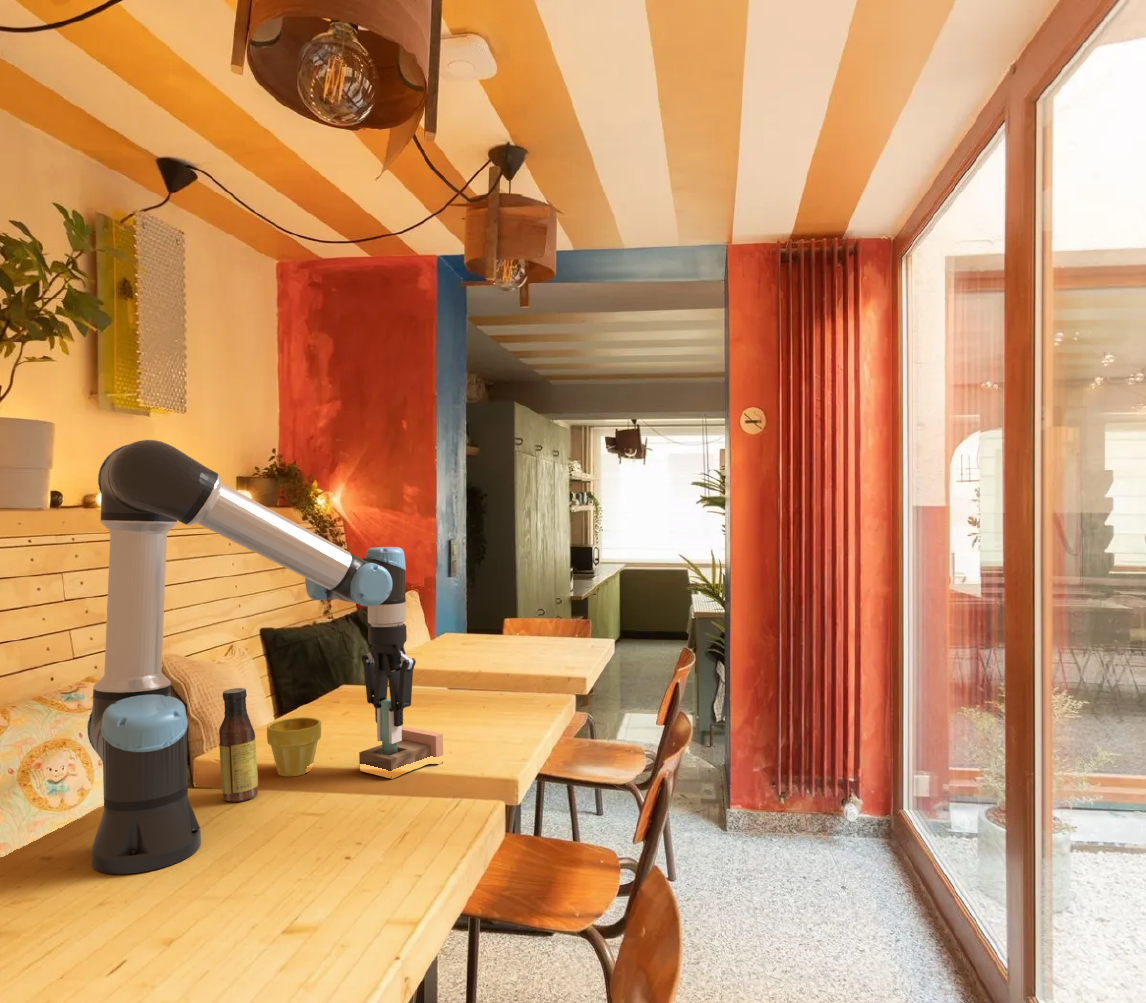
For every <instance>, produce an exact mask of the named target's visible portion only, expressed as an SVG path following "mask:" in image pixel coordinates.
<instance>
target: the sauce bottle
mask: <svg viewBox="0 0 1146 1003" xmlns="http://www.w3.org/2000/svg"><path fill="white" fill-rule="evenodd" d="M247 695H248V694H247V689H246V688H243V687H238V688H237V687H236V688H230V689H226V690H223V691H222V700H223V702H224V704H223V705H224V713H223V714H224V719H223V720H222V723H221V724H220V728H219V731H218V733H219V734H218V735H219V745H218V746H219V760H220V761H219V762H220V763H219V765H220V777H221V779H220V782H221V783H220V784H221V792H222V794H223V795H222V796H223V800H224V801H225V802H232V803H236V802H244V801H245V802H246V801H248V800H251V799H253V798H255V797H256V796H257V795H258V786H259V775H258V774H259V773H258V772H259V771H258V759H257V758H258V757H257V745H256V744H257V742H256V733H255V730H254V727H253V725H252V723H251V719H250V716H249V714H248V710H247V700H246V699H247Z"/></svg>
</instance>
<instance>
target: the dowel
mask: <svg viewBox="0 0 1146 1003" xmlns="http://www.w3.org/2000/svg"><path fill="white" fill-rule="evenodd" d="M390 708H392V707H391V698H387V699H385V700H382V701H381V710H382V741H381V745H382V754H384V755H389V756H390V755H393V754H396V753H398V748H397V742H396V743H393V744H390V743H389V709H390Z"/></svg>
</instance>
